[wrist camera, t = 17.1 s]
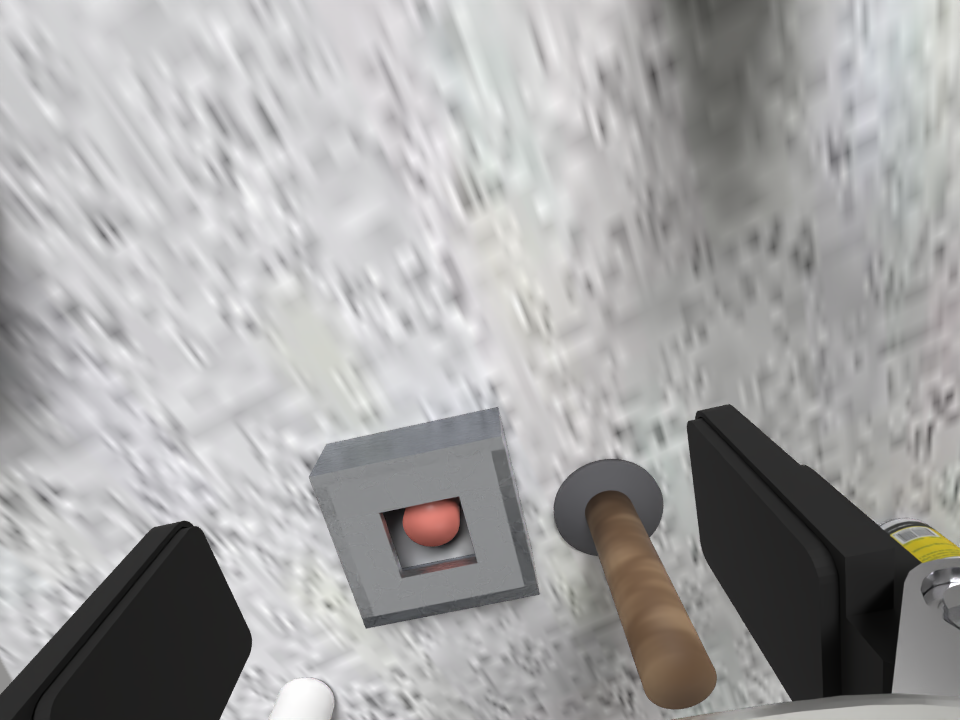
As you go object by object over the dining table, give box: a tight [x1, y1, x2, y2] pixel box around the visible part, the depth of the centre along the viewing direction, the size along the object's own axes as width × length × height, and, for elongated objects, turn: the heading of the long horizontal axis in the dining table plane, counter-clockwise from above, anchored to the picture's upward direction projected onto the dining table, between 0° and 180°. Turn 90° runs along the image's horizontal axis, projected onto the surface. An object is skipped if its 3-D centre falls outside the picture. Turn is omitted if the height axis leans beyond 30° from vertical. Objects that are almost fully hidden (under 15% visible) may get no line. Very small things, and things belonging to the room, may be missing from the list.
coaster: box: [554, 459, 663, 556], centre depth 45 cm, size 9×9×1 cm
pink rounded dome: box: [403, 497, 460, 547], centre depth 43 cm, size 4×4×2 cm
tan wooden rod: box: [585, 490, 717, 709], centre depth 37 cm, size 4×4×16 cm
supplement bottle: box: [880, 518, 960, 563], centre depth 42 cm, size 6×6×11 cm
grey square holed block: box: [309, 407, 539, 628], centre depth 42 cm, size 14×14×5 cm
